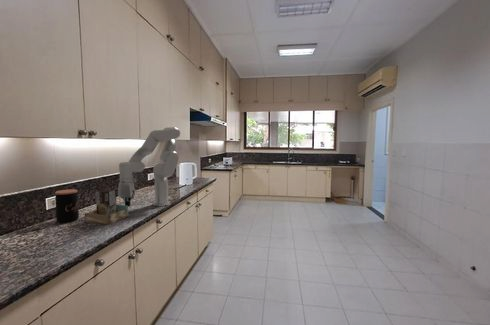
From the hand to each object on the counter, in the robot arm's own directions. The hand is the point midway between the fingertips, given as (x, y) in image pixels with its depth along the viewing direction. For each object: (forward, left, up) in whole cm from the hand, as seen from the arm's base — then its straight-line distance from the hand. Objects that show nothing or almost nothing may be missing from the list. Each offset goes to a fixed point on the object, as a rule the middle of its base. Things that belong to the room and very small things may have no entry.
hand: (127, 206), depth 159 cm
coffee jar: (+26, -20, -4) cm, 33 cm away
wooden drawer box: (+18, 0, -3) cm, 18 cm away
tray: (+16, 0, -3) cm, 16 cm away
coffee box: (+17, 0, -2) cm, 18 cm away
